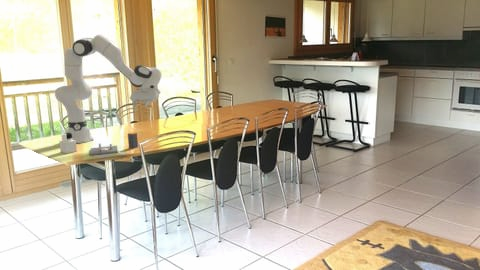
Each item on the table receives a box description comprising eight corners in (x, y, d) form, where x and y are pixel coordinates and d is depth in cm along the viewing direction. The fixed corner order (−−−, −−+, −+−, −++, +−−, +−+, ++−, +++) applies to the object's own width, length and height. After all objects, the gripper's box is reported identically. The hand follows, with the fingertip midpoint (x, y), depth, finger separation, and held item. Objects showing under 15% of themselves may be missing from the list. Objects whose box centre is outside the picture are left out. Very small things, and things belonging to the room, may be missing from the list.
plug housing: (128, 147, 271) (127, 133, 269) (133, 146, 275) (131, 132, 273) (133, 148, 269) (132, 133, 267) (138, 147, 273) (136, 132, 271)
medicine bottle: (71, 150, 271) (68, 131, 269) (77, 151, 267) (74, 132, 264) (60, 152, 266) (58, 133, 263) (66, 153, 261) (64, 134, 259)
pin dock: (90, 149, 270) (90, 143, 269) (116, 147, 275) (116, 141, 274) (90, 155, 255) (89, 149, 254) (117, 152, 260) (117, 146, 259)
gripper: (133, 86, 283) (124, 102, 277) (157, 86, 274) (149, 103, 267) (138, 92, 288) (129, 108, 281) (162, 92, 279) (154, 109, 272)
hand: (139, 106), depth 274 cm, fingers open, 8 cm apart
